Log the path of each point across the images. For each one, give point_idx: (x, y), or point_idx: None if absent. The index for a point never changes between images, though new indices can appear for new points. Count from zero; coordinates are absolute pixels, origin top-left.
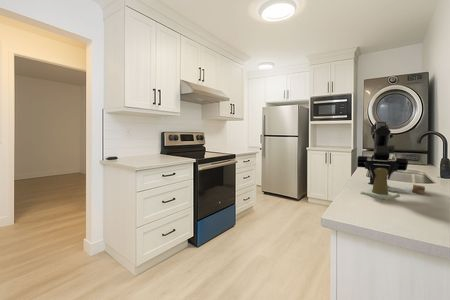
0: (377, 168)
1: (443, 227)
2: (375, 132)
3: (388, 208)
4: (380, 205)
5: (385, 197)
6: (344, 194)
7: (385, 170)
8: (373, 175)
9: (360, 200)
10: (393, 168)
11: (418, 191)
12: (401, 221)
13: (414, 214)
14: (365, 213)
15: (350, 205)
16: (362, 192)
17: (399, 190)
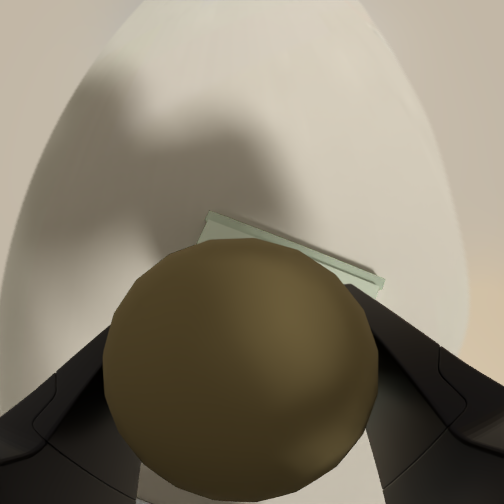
0: (326, 326)
1: (110, 43)
2: None
3: (213, 78)
4: (243, 94)
5: (217, 223)
6: (441, 198)
7: (141, 280)
8: (350, 290)
9: (339, 120)
10: (9, 412)
11: None
12: (192, 17)
13: (138, 76)
14: (281, 15)
15: (344, 48)
16: (373, 284)
17: None
